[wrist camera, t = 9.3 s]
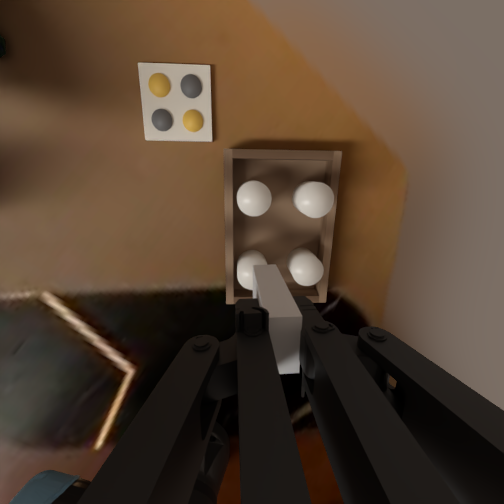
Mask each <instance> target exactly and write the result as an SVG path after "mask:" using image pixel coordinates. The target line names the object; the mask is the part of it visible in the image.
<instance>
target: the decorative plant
mask: <svg viewBox="0 0 504 504" xmlns="http://www.w3.org/2000/svg"><path fill="white" fill-rule="evenodd" d="M5 54H6V49H5V39H4V38H3V37H2V36H1V35H0V57H2V56H3V55H5Z"/></svg>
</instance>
